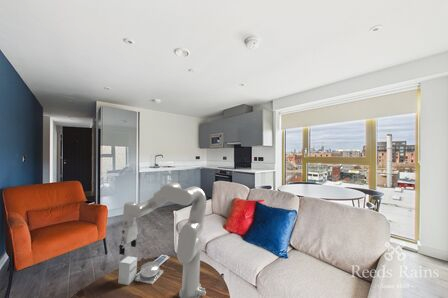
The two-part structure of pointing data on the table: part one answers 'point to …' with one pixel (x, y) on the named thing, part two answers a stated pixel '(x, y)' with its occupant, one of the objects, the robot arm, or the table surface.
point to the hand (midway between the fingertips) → (127, 250)
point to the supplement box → (127, 270)
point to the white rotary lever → (149, 272)
